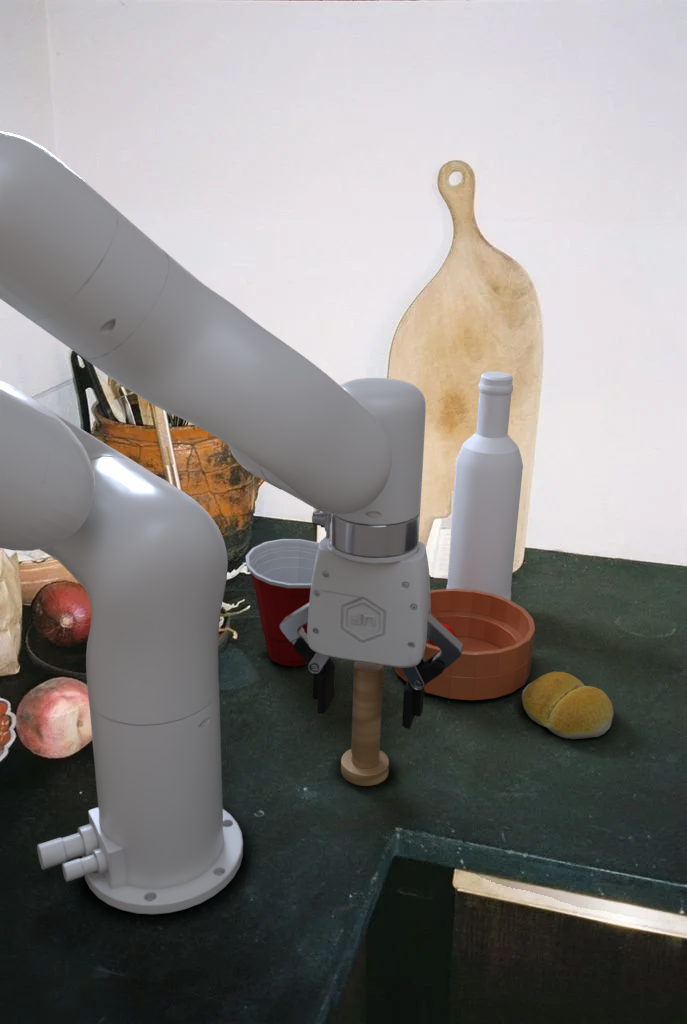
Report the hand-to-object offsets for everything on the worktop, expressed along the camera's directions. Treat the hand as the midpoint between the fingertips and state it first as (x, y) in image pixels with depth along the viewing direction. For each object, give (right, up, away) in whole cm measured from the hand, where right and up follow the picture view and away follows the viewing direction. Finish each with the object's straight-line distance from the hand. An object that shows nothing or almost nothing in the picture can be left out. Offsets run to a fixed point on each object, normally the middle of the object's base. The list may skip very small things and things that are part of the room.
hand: (367, 711), depth 84 cm
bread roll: (+20, -3, +11) cm, 24 cm away
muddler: (0, -6, +2) cm, 6 cm away
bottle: (+15, +5, +33) cm, 36 cm away
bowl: (+11, +1, +20) cm, 23 cm away
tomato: (+9, +4, +22) cm, 24 cm away
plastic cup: (-8, +2, +22) cm, 23 cm away
